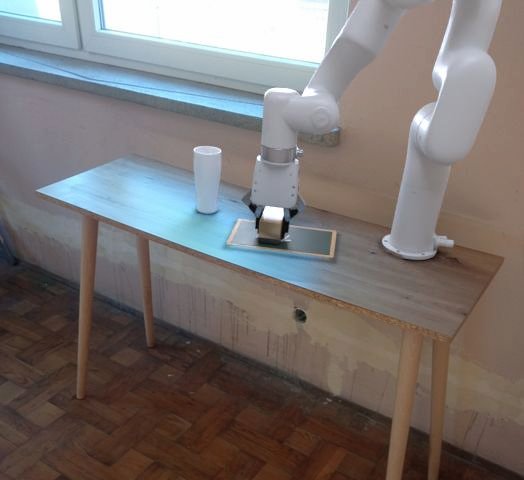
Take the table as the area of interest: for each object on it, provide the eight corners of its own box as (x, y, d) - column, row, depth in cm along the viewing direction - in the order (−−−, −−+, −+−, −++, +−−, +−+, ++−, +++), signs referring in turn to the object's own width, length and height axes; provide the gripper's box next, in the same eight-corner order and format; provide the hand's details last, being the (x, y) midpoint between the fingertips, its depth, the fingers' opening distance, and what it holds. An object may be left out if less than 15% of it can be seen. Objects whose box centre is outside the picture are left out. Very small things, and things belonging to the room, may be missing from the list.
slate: (336, 234, 134) (336, 230, 133) (333, 262, 122) (333, 257, 121) (238, 222, 136) (238, 218, 135) (225, 248, 124) (225, 243, 123)
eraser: (284, 227, 132) (286, 207, 129) (278, 245, 124) (281, 223, 121) (264, 224, 133) (266, 204, 130) (257, 242, 124) (259, 220, 122)
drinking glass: (224, 214, 139) (225, 153, 131) (197, 216, 137) (197, 155, 128) (215, 204, 144) (216, 145, 136) (190, 206, 142) (189, 146, 133)
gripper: (319, 152, 120) (309, 231, 131) (241, 144, 121) (238, 222, 132) (316, 163, 114) (306, 245, 124) (235, 153, 115) (232, 235, 126)
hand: (271, 232), depth 128 cm, fingers closed on eraser, 4 cm apart
